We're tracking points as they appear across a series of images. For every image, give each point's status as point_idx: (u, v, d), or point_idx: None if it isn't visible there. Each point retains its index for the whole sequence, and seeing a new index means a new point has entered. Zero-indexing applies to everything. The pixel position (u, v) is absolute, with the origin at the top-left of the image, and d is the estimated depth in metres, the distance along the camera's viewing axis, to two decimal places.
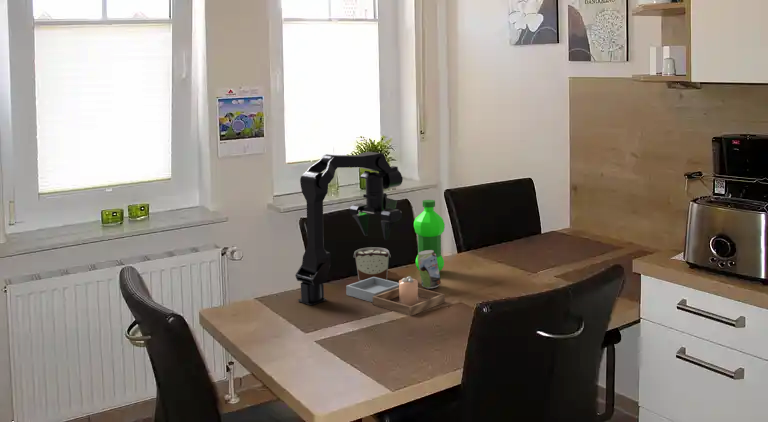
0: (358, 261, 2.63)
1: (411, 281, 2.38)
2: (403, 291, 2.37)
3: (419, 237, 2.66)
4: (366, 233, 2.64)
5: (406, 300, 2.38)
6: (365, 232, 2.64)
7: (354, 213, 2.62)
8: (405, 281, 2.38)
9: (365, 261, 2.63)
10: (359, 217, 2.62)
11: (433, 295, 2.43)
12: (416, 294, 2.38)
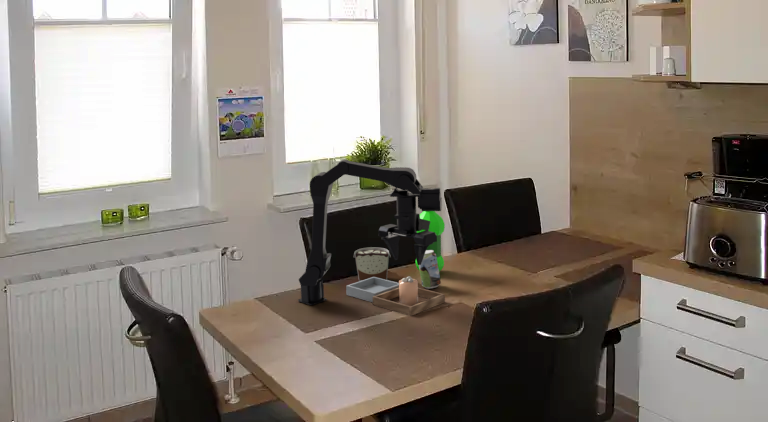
0: (358, 261, 2.63)
1: (411, 281, 2.38)
2: (403, 291, 2.37)
3: None
4: (396, 257, 2.41)
5: (406, 300, 2.38)
6: (395, 256, 2.41)
7: (383, 235, 2.39)
8: (405, 281, 2.38)
9: (365, 261, 2.63)
10: (389, 240, 2.39)
11: (433, 295, 2.43)
12: (416, 294, 2.38)
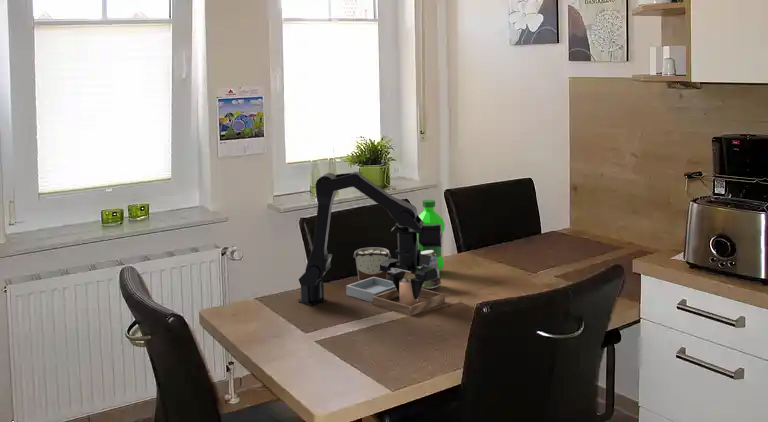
0: (358, 261, 2.63)
1: None
2: (403, 290, 2.37)
3: None
4: None
5: (406, 300, 2.38)
6: None
7: (385, 270, 2.41)
8: (405, 281, 2.38)
9: (365, 261, 2.63)
10: (394, 275, 2.40)
11: (433, 295, 2.43)
12: None
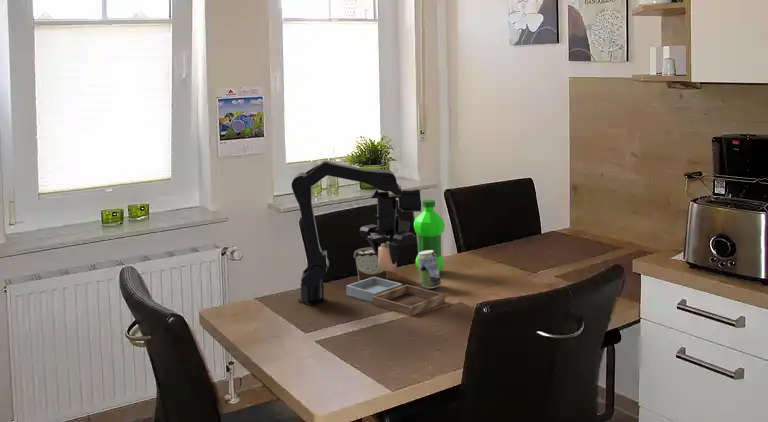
0: (358, 261, 2.63)
1: None
2: (381, 255, 2.41)
3: (419, 237, 2.66)
4: None
5: (385, 265, 2.41)
6: None
7: (364, 235, 2.44)
8: (384, 246, 2.42)
9: (365, 261, 2.63)
10: (373, 240, 2.43)
11: (433, 295, 2.43)
12: None
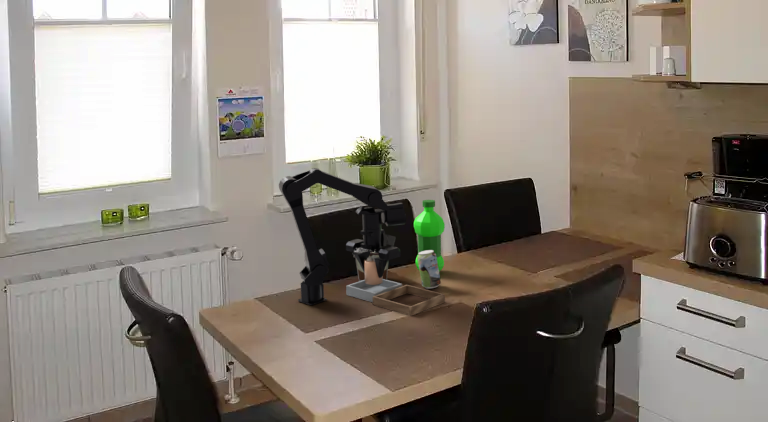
0: None
1: None
2: (368, 269, 2.46)
3: (419, 237, 2.66)
4: None
5: (371, 278, 2.47)
6: None
7: (350, 250, 2.50)
8: (370, 260, 2.47)
9: None
10: (359, 255, 2.49)
11: (433, 295, 2.43)
12: None
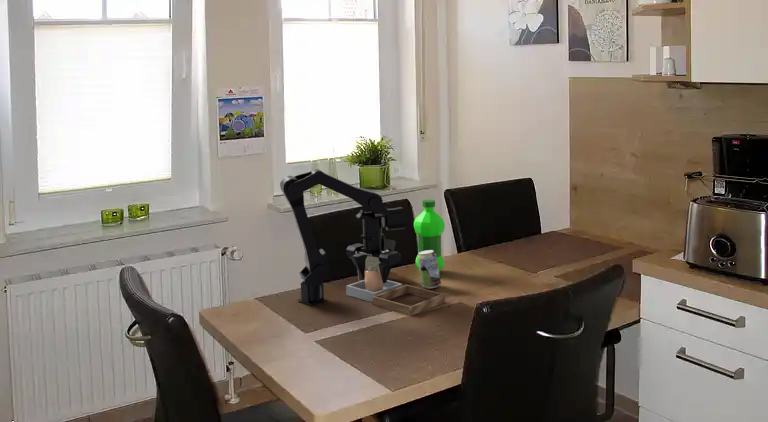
0: None
1: (376, 270, 2.47)
2: (368, 279, 2.47)
3: (419, 237, 2.66)
4: (363, 275, 2.52)
5: (371, 288, 2.47)
6: (362, 274, 2.52)
7: (351, 254, 2.50)
8: (370, 270, 2.48)
9: (365, 261, 2.63)
10: (356, 258, 2.50)
11: (433, 295, 2.43)
12: (381, 282, 2.48)
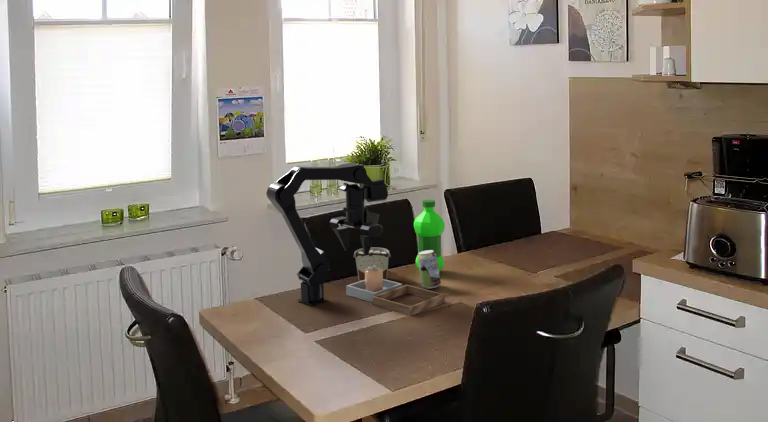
0: (358, 261, 2.63)
1: (376, 270, 2.47)
2: (368, 279, 2.47)
3: (419, 237, 2.66)
4: (347, 248, 2.53)
5: (372, 288, 2.47)
6: (345, 247, 2.53)
7: (334, 227, 2.51)
8: (370, 270, 2.48)
9: (365, 261, 2.63)
10: (339, 231, 2.51)
11: (433, 295, 2.43)
12: (381, 282, 2.48)
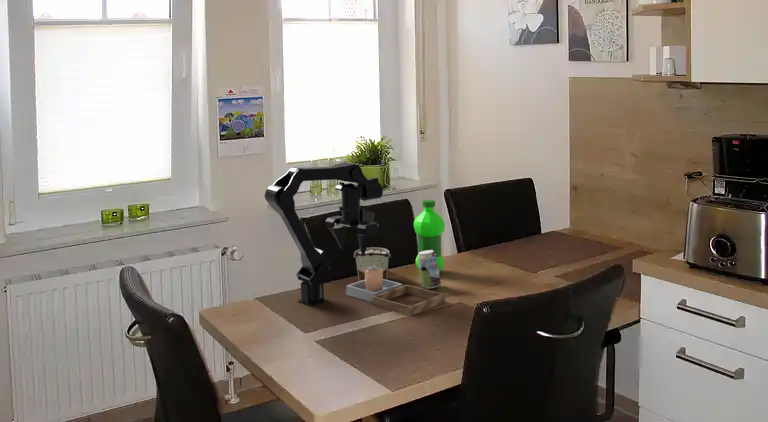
0: (358, 261, 2.63)
1: (376, 269, 2.48)
2: (368, 278, 2.47)
3: (419, 237, 2.66)
4: (343, 247, 2.54)
5: (372, 288, 2.47)
6: (342, 246, 2.54)
7: (330, 226, 2.52)
8: (370, 269, 2.48)
9: (365, 261, 2.63)
10: (335, 230, 2.52)
11: (433, 295, 2.43)
12: (381, 282, 2.48)
